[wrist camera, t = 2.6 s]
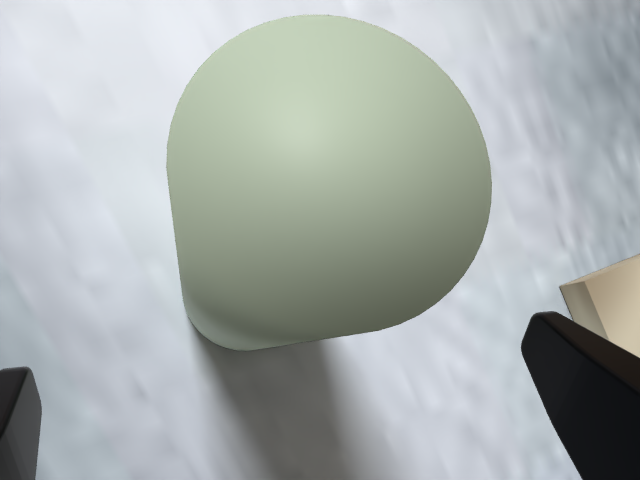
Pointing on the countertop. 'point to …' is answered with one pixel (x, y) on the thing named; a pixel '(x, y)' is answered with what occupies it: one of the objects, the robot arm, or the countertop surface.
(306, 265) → the post
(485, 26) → the countertop surface
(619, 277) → the socket base
